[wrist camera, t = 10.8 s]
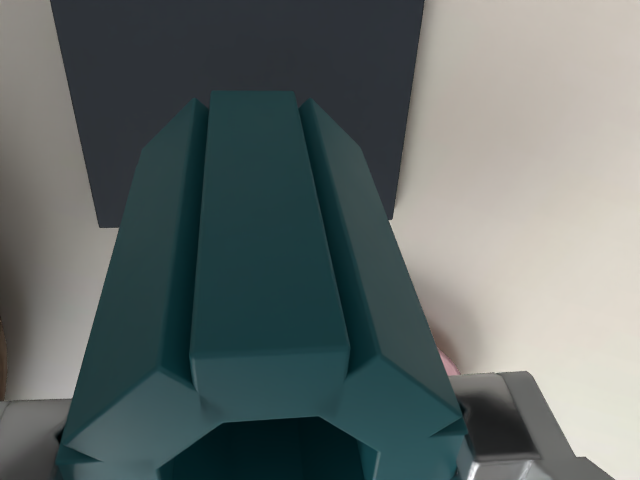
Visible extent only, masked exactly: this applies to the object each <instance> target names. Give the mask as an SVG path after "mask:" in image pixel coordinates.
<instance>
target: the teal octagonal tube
mask: <svg viewBox="0 0 640 480" xmlns="http://www.w3.org/2000/svg"><path fill="white" fill-rule="evenodd" d="M466 434H468V429H467V427H466V424H465V422H464V419H463V416H462V412H461V409H460V406H459V404H458V401H457V399H456V396H455V393H454V391H453V388H452V385H451V383H450V380H449V378H448V375H447V372H446V370H445V367H444V365H443V362H442V359H441V357H440V354H439V351H438V349H437V346H436V344H435V341H434V338H433V336H432V333H431V330H430V328H429V325H428V323H427V320H426V317H425V315H424V312H423V309H422V307H421V304H420V302H419V299H418V296H417V294H416V291H415V289H414V286H413V283H412V281H411V278H410V275H409V273H408V270H407V268H406V265H405V262H404V260H403V257H402V254H401V252H400V249H399V247H398V244H397V241H396V239H395V236H394V233H393V231H392V228H391V226H390V223H389V220H388V218H387V215H386V213H385V210H384V207H383V205H382V202H381V199H380V197H379V194H378V192H377V189H376V186H375V184H374V181H373V178H372V176H371V173H370V171H369V168H368V165H367V163H366V160H365V158H364V155H363V152H362V150H361V147H360V146H359V145H358V144H357V143H356V142H355V141H354V140H353V139H352V138H351V137H350V136H349V135H348V134H347V133H346V132H345V131H344V130H343V129H342V128H341V127H340V126H339V125H338V124H337V123H336V122H335V121H334V120H333V119H332V118H331V117H330V116H329V115H328V114H327V113H326V112H325V111H324V110H323V109H322V108H321V107H320V106H319V105H318V104H317V103H316V102H315V101H314V100H313V99H312V98H309V99H307V100H306V101H305V102H304V103H303V104H302V105H301V106H300V107H299V108H298V106H297V101H296V96H295V93H294V92H293V91H211V94H210V105H209V109H208V108H207V107H206V106H205V105H203V104H202V103H201V102H200V101H199V100H198V99H197V98H192V99H191V100H190V101H189V102H188V103H187V104H186V105H185V107H184V108H183V109H182V110H181V111H180V112H179V113H178V114H177V115H176V116H175V117H174V118H173V119H172V120H171V121H170V122H169V123H168V124H167V125H166V126H165V127H164V128H163V129H162V130H161V131H160V132H159V133H158V134H157V135H156V136H155V137H154V138H153V139H152V140H151V141H150V142H149V143H148V144H147V145H146V146H145V147H144V148H143V149H142V151H141V155H140V158H139V162H138V165H137V166H136V169H135V173H134V177H133V180H132V184H131V188H130V191H129V195H128V198H127V202H126V206H125V209H124V213H123V217H122V220H121V224H120V228H119V231H118V235H117V238H116V242H115V246H114V249H113V253H112V257H111V260H110V264H109V267H108V271H107V275H106V278H105V282H104V286H103V289H102V293H101V297H100V300H99V304H98V307H97V311H96V315H95V318H94V322H93V326H92V329H91V333H90V337H89V340H88V344H87V347H86V351H85V355H84V358H83V362H82V366H81V369H80V373H79V377H78V380H77V384H76V387H75V391H74V395H73V398H72V402H71V406H70V409H69V413H68V417H67V420H66V424H65V427H64V431H63V435H62V438H61V442H60V446H59V449H58V453H57V457H56V460H55V464H56V465H58V466H59V469H60V472H61V474H62V477H63V479H64V480H450V479H451V478H452V477H453V476H454V475H455V472H456V469H457V464H456V459H457V456H458V453H459V450H460V447H461V444H462V441H463V438H464V435H466Z"/></svg>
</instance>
